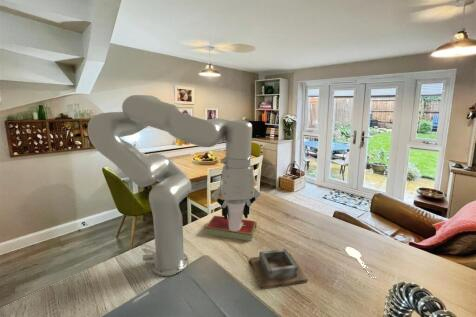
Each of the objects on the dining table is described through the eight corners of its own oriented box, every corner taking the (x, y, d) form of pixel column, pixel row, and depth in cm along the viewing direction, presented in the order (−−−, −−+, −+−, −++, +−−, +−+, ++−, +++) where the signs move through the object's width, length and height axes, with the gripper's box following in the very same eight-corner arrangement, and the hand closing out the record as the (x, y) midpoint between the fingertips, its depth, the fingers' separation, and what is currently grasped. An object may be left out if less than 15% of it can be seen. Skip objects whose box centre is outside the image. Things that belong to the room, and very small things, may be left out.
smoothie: (242, 234, 72) (244, 192, 69) (222, 231, 73) (223, 190, 70) (246, 224, 78) (248, 184, 75) (227, 221, 80) (228, 182, 76)
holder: (261, 288, 75) (262, 276, 74) (250, 260, 88) (250, 249, 87) (307, 281, 78) (308, 270, 77) (289, 255, 91) (290, 245, 90)
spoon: (366, 279, 80) (367, 278, 80) (341, 247, 98) (342, 246, 97) (381, 279, 80) (382, 278, 80) (354, 247, 98) (354, 246, 98)
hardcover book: (214, 222, 116) (214, 214, 115) (256, 228, 111) (256, 220, 110) (205, 235, 105) (205, 226, 104) (251, 242, 100) (252, 233, 99)
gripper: (210, 166, 65) (209, 224, 70) (269, 165, 69) (264, 221, 73) (207, 159, 72) (207, 213, 77) (261, 159, 76) (257, 210, 80)
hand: (235, 216), depth 75 cm, fingers closed on smoothie, 5 cm apart
